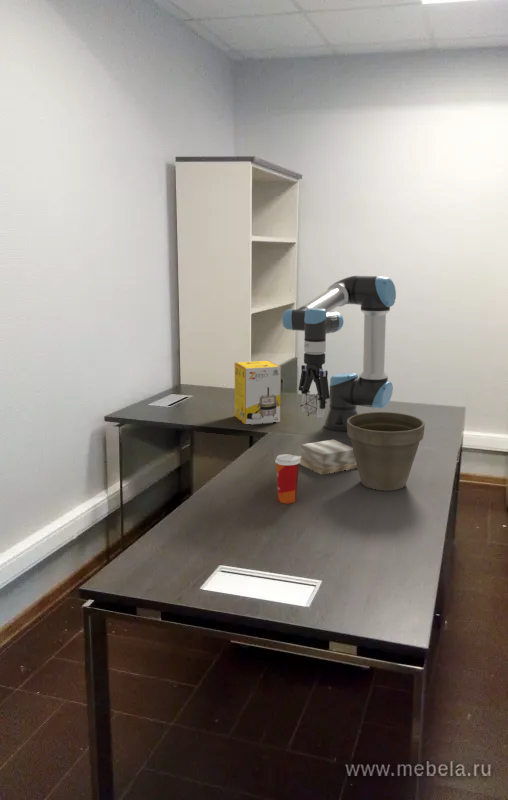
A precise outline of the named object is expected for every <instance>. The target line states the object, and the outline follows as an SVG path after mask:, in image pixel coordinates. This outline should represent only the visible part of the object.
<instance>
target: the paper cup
mask: <svg viewBox="0 0 508 800" xmlns="http://www.w3.org/2000/svg"><path fill="white" fill-rule="evenodd" d="M298 456H299V455H295V454H290V453H289V454H287V453H285V454H284V453H283V454H278V455H277V456H276V458H275V461H274V463H275V467H276V468H275V469H276V471H275V472H276V488H277V501H278V503H280V504H286V505H287V504H293V503H294V504H295V503H296V502H297V493H298V492H297V491H298V480H299V479H298V478H299V470H300V469H299V468H300V467H299V465H300V464H299V463H300V460H299V457H298Z"/></svg>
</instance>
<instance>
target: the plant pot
mask: <svg viewBox="0 0 508 800" xmlns="http://www.w3.org/2000/svg"><path fill="white" fill-rule="evenodd" d="M425 424H426V423H425V421H424V420H422V419H421V418H420V417H416V416H414V415H411V414H406V413H401V412H394V411H393V412H391V411H374V412H373V411H372V412H363V413H357V415H354V416H351V417H350V418H348V419H347V431H346V432H347V436H348V438H350V443H351V447H352V448H353V452H354V456H355V460H356V464H357V472H358V476H359V479H360V482H361V484H362V485H363V486H364V487H366V488H369V489H371V488H372V489H371V490H375V489H376V490H375V491H382V490H383V491H385V492H389V491H391V492H393V491H397V490H400V489H403V488H404V487H406V485H407V483H408V479H409V477H410V474H411V473H410V472H411V471H412V467H413V462H414V461H415V458H416V455H417V452H418V448H419V446H420V442H422V440H423V439H424V436H425V426H426V425H425Z"/></svg>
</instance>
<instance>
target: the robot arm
mask: <svg viewBox="0 0 508 800" xmlns="http://www.w3.org/2000/svg"><path fill="white" fill-rule="evenodd" d="M396 297H397V290H396V286H395V283H394V281H393V280H392V279H391V278H390V277H387V276H381V275H351V276H347V277H345V278H342V279H340V280H338V281H336V282H334V283H332V284H331V285H329V287H328V288H327V290H326V291H325V292H323V293H321V294H320V295H318V296H317V297H315V298H313V299H312V300H310V301H308V302H307V303H305V304H303V305H302V306H300V307H299V308H297V309H293V308H292V309H287V310H285V311H284V312H283V313H282V317H281V321H282V326H283V327H284V329H286V330H290V331H299V332H300V331H301V332H304V338H303V339H304V340H303V341H304V344H303V349H304V354H303V363H304V364H303V365H301V367H300V368H301V373H300V379H299V385H298V391H299V392H301V403H302V404H303V402H304V400H305V397H306V394H307V395H309V394H310V393H311V391H310V388H311V385H312V383H315V386H316V392H317V394H318V396H319V398H318V404H317V414H316V417H317V418H318V419H320V418H325V417H326V418H325V419H324V427H325V428H326V429H328V430H330V431H331V430H332V431H336V432H347V419H348V418H350V417H351V416H354V415H357V414H358V411H357V410H358V409H357V406H358V407H366V408H370V409H371V408H372V409H385V408H386V407H387V405H389V403H390V401H391V398H392V396H393V390H394V386H393V382H391V381H390V380H388V379H389V378H388V374H387V373H385V354H386V353H385V350H386V324H387V323H386V321H387V320H386V318H387V317H386V316H387V314H388V313H389V312H390V310H391V307H392V306H394V305H395V303H396ZM345 305H358V306H360V311H361V312H362V313H363V315H364V316H363V317H364V322H363V324H364V325H363V326H364V327H363V356H362V357H363V359H362V361H363V362H362V363H363V364H362V367H363V370H362V372H361V373H360V374H359V375H358V374H357V373H355V372H348V373H346V372H345V373H339V374H334V375H332V376H331V377H330V381H329V380H328V379H329V378H328V375H329V374H328V370H324V369H323V365H325V364H326V353H325V352H326V348H327V347H326V344H327V343H326V337H327V334H333V333H336V332H339V331H340V330H341V329H342V328H343V325H344V318H343V315H342V314H341V313H340V312H338V311H334V310H335V309H336V308H338V307H339V308H340V307H344V306H345ZM305 393H306V394H305ZM326 400H329V401H328V402H329V403H328V404H329V406H328V407H329V408H328V411H327V415H326V403H325V402H327V401H326ZM302 404H301V405H302ZM301 412H302V413H303V412H307V411H306V410H305V409H304V408H303V406H301Z"/></svg>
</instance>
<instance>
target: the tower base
mask: <svg viewBox="0 0 508 800" xmlns="http://www.w3.org/2000/svg"><path fill="white" fill-rule="evenodd" d="M300 453H301V455H297V456H298V457H299V460H300V463H299V465H300V466H303V467H305V468H306V469H308V468H309V470H310V469H311V471H312V470H313V472H314V473H316V472H317V474H318V473H319V475H321V476H325V475H328V474H329V473H330V474H335V473H338V472H339V473H340V471H341V472H345V471H344V470H346V471H350V469H351V470H356V469H355V468H357V464H356V460H355V456H354V452H353V448H352V446H349V445H347V444H345V443H343V442H340V441H339V440H336V439H327V440H322V441H316V442H310V443H309V442H308V443H303V444H301V452H300ZM357 469H358V468H357ZM334 472H335V473H334Z"/></svg>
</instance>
